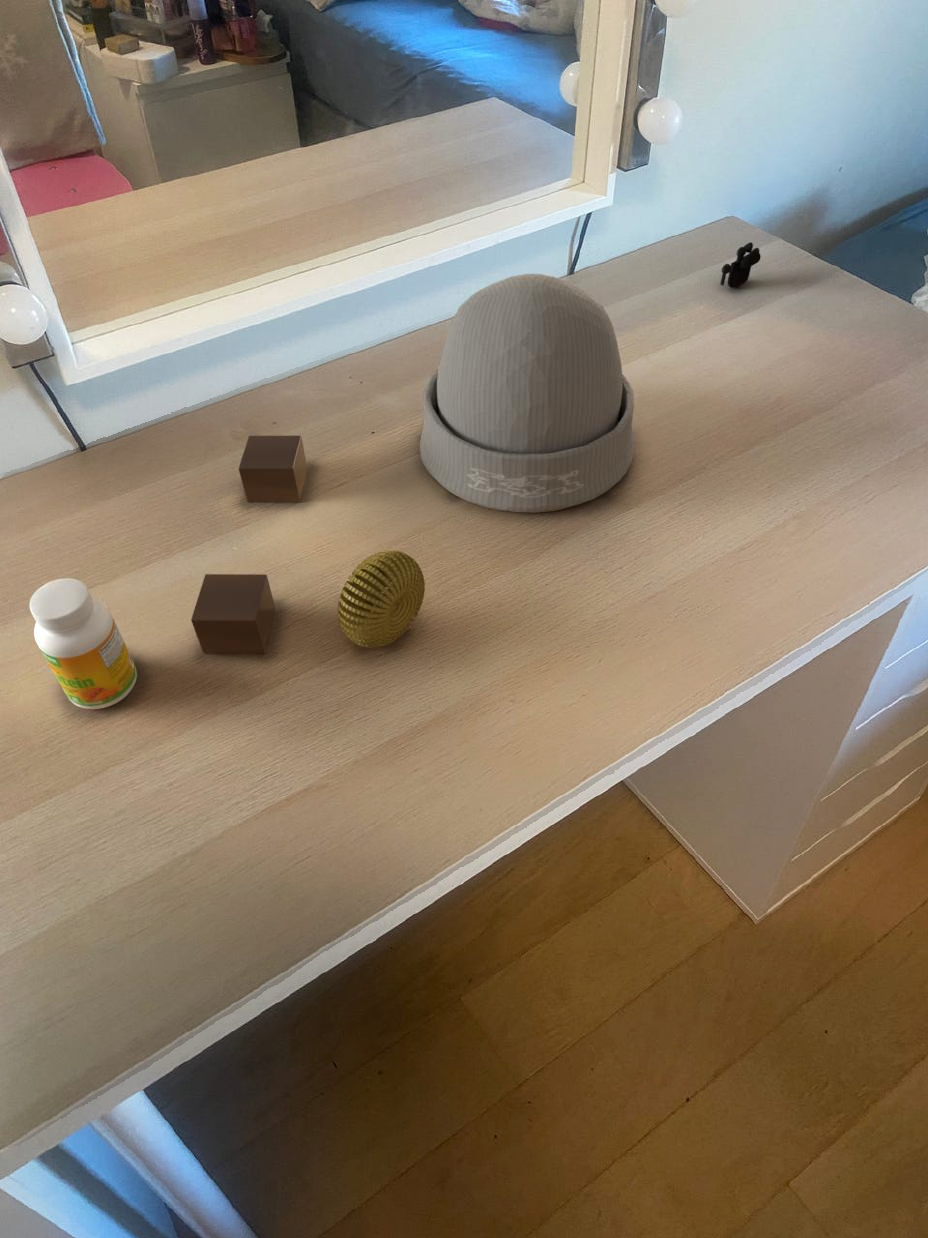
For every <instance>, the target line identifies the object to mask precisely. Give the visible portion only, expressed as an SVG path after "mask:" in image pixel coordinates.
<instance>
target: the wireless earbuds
mask: <svg viewBox="0 0 928 1238" xmlns="http://www.w3.org/2000/svg"><path fill="white" fill-rule="evenodd" d="M761 256H762V255H761V253H760V248H759V247H755V248H754V244H753V242H751V241H750V242H748V243H746V244H744V246H740V247H739V248H738V249H737V251H736V260H735V261H733V262H731V264H729V263H725V264H723V266H722V268H721V277H720V284H719V285H720V286H722V287H723V286H725V281H726V277H727V274H728V278H727V285H728V287H729V288H731V289H736V288H738V287H740V286H741V285H743V284H745V283H746V282H747V281H748V280H749V278H750V273H751V269H752V267H753V266H755V265H756V264H758V263H759V262H760V260H761V258H762V257H761Z"/></svg>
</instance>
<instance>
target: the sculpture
mask: <svg viewBox="0 0 928 1238" xmlns="http://www.w3.org/2000/svg"><path fill="white" fill-rule="evenodd" d="M425 591H426V583H425V576H424V573H423V571H422V569H421V567H420V565H419V564H418V562H417V561H416V560H415V558H413V557H412V556H410V555H408V554H407V553H405V552H402V551H399V550H382V551H379V552H376V553H373V554H371V555H369V556H368V557H366V558H365V559H364V560H362V561H361V562H360V563H359V564H358V565H357V566H356V567H355V568H354V569H353V571H352V572H351V574H350V575H348V577H347V580H345V583H344V586H343V587H342V589H341V591H340V594H339V599H338V602H337V603H338V604H337V618H338V622H339V626H340V628H341V631H342V632H343V634H344V635H345V636H346V637H347V638H348V639H349V640H350V641H351V642H352V643H354V644H356V645H357V646H360V647H363V648H371V649H375V648H381V647H384V646H387V645H390V644H392V643H393V642H395V641H396V640H398V639H399V638H401V636H403V634H405V633H406V632H407V631H408V629H410V627H411V626H412V624H413V623H414V622H415V620H416V619H415V618H417V617H418V615H419V612H420V610H421V608H422V606H423V603H424V598H425Z"/></svg>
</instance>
